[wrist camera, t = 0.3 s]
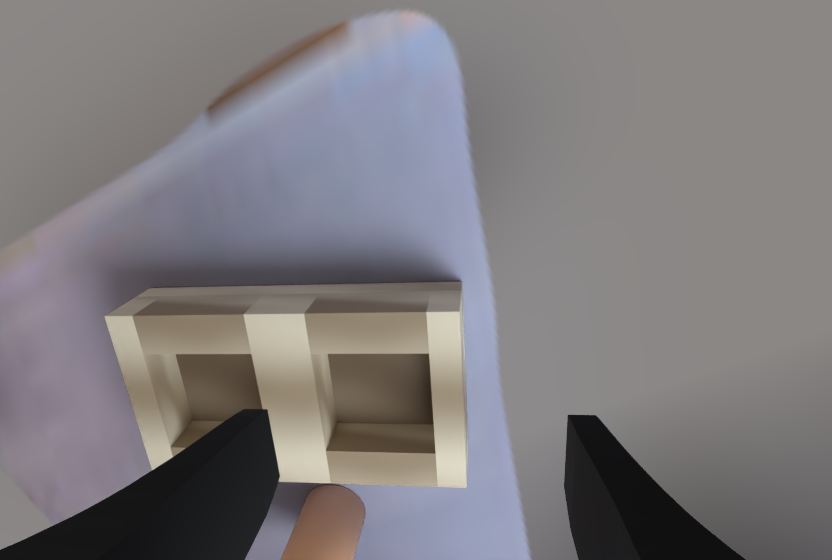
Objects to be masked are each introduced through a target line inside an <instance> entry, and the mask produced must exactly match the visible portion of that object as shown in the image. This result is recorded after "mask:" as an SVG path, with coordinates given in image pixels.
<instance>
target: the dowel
mask: <svg viewBox="0 0 832 560" xmlns="http://www.w3.org/2000/svg"><path fill="white" fill-rule="evenodd" d="M364 519H365V507H364V504H363V502H362V500H361V499H360V498H359V497H358V496H357V495H356V494H355V493H354V492H352V491H351V490H349V489H347V488H345V487H342V486H338V485H322V486H319V487H316V488H315V489H313V490H312V491H311V492H310V493H309V494H308V496H307V498H306V500H305V502H304V505H303V507H302V510H301V512H300V514H299V517H298V519H297V522H296V524H295V526H294V529H293V531H292V534H291V536H290V538H289V541H288V543H287V546H286V548H285V550H284V553H283V555H282V558H281V560H354V557H355V553H356V549H357V545H358V541H359V538H360V534H361V530H362V526H363V522H364Z"/></svg>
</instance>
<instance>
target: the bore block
mask: <svg viewBox="0 0 832 560" xmlns="http://www.w3.org/2000/svg"><path fill="white" fill-rule="evenodd" d="M104 317H105V320H106V323H107V326H108V330H109V333H110V336H111V339H112V343H113V346H114V349H115V352H116V355H117V359H118V362H119V365H120V368H121V372H122V375H123V378H124V381H125V384H126V388H127V391H128V394H129V397H130V401H131V404H132V407H133V410H134V413H135V417H136V420H137V423H138V426H139V429H140V433H141V436H142V439H143V442H144V446H145V449H146V452H147V455H148V458H149V462H150V465H151V468H152V470H154V469H155V468H157V467H158V466H160V465H161V464H163V463H165V462H166V461H168V460H169V459H171V458H172V457H174V456H175V455H177V454H178V453H180V452H181V451H182V450H184V449H185V448H187V447H188V446H190V445H191V444H193V443H194V442H195V441H197V440H198V439H200V438H201V437H203V436H204V435H206V434H207V433H208V432H210V431H211V430H213V429H214V428H216V427H217V426H218V425H220V424H221V423H223V422H224V421H226V420H227V419H229V418H230V417H232V416H233V415H235V414H236V413H238V412H240V411H241V410H243V409H267V410H268V415H269V420H270V426H271V431H272V436H273V442H274V447H275V452H276V457H277V463H278V468H279V473H280V478H279V481H278V482H304V483H335V484H366V485H397V486H428V487H459V488H467V460H468V425H467V398H466V371H465V344H464V317H463V291H462V282H416V283H368V284H320V285H272V286H224V287H176V288H149V289H148V290H146V291H144V292H143V293H141V294H140V295H138V296H136V297H135V298H133V299H131V300H130V301H128V302H127V303H125V304H123V305H122V306H120V307H119V308H117V309H115V310H114V311H112V312H110V313H109V314H107V315H106V316H104Z"/></svg>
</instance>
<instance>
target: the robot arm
mask: <svg viewBox="0 0 832 560" xmlns="http://www.w3.org/2000/svg"><path fill="white" fill-rule="evenodd" d="M279 478H280V473H279V468H278V463H277V457H276V452H275V447H274V442H273V436H272V431H271V426H270V420H269V415H268V410H267V409H243V410H241V411H240V412H238V413H236V414H235V415H233V416H232V417H230V418H229V419H227V420H226V421H224V422H223V423H221V424H220V425H218V426H217V427H216V428H214V429H213V430H211V431H210V432H208V433H207V434H206V435H204V436H203V437H201V438H200V439H198V440H197V441H195V442H194V443H193V444H191V445H190V446H188V447H187V448H185V449H184V450H182V451H181V452H180V453H178V454H177V455H175V456H174V457H172V458H171V459H169V460H168V461H166V462H165V463H163V464H161V465H160V466H158V467H157V468H155V469H154V470H152V471H150V472H149V473H147V474H146V475H144V476H143V477H141V478H140V479H138V480H136V481H135V482H133V483H132V484H130V485H128V486H127V487H125V488H123V489H122V490H120V491H118V492H117V493H115V494H113V495H111V496H110V497H108V498H106V499H104V500H102V501H101V502H99V503H97V504H95V505H93V506H91V507H90V508H88V509H86V510H84V511H82V512H80V513H78V514H76V515H74V516H73V517H70V518H68V519H66V520H64V521H62V522H60V523H58V524H56V525H54V526H52V527H50V528H47V529H45V530H43V531H41V532H39V533H37V534H35V535H33V536H31V537H29V538H27V539H24V540H22V541H20V542H18V543H16V544H13V545H11V546H8V547H6V548H4V549H1V550H0V560H244V559H245V557H246V556H247V554H248V552H249V550H250V548H251V546H252V544H253V542H254V540H255V538H256V536H257V534H258V532H259V530H260V528H261V526H262V523H263V521H264V519H265V517H266V515H267V512H268V510H269V507H270V504H271V501H272V499H273V496H274V493H275V490H276V487H277V484H278V481H279ZM564 489H565V495H566V501H567V509H568V515H569V521H570V528H571V532H572V536H573V540H574V544H575V547H576V551H577V555H578V559H579V560H745V559H744V558H743V557H741V556H740V555H739V554H737V553H736V552H735V551H733V550H732V549H731V548H730V547H728V546H727V545H726V544H725V543H723V542H722V541H721V540H720V539H718V538H717V537H716V536H715V535H713V534H712V533H711V532H710V531H709V530H707V529H706V528H705V527H703V526H702V525H701V524H700V523H699V522H698V521H697V520H695V519H694V518H693V517H692V516H691V515H690V514H689V513H687V512H686V511H685V510H684V509H683V508H682V507H681V506H680V505H679V504H678V503H677V502H676V501H675V500H674V499H673V498H671V497H670V496H669V495H668V494H667V493H666V492H665V491H664V490H663V489H662V488H661V487H660V486H659V485H658V484H657V483H656V482H655V481H654V480H653V479H652V478H651V477H650V475H649V474H648V473H647V472H646V471H645V470H644V469H643V468H642V467H641V466H640V465H639V464H638V463H637V462H636V461H635V460H634V458H633V457H631V455H630V454H629V453H628V452H627V451H626V450H625V449H624V447H623V446H622V445H621V444H620V443H619V441H617V439H616V438H615V437H614V436H613V435H612V433H611V432H610V431H609V430H608V429H607V427H606V426H605V425H604V424H603V423H602V422H601V420H600V419H599V418H598V417H597V416H595V415H568V423H567V443H566V462H565V482H564Z"/></svg>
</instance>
